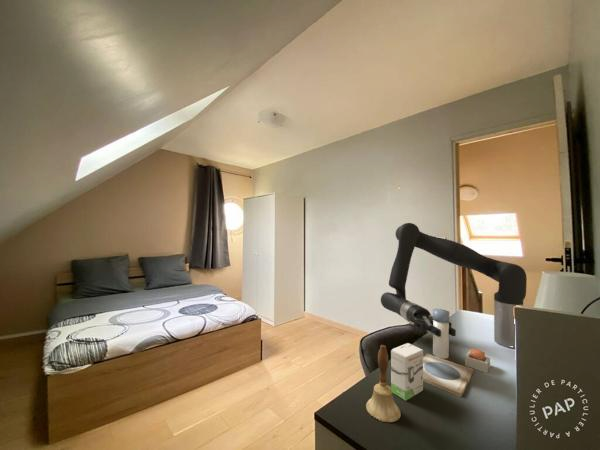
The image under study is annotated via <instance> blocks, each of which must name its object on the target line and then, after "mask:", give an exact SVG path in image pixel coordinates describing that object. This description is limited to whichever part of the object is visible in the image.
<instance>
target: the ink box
mask: <svg viewBox="0 0 600 450" xmlns="http://www.w3.org/2000/svg"><path fill="white" fill-rule="evenodd" d="M423 357H424V350H423V349H422V348H419V347H418V346H416V345H413V344H411V343H409V342H407V343H404V344H402V345H399V346H397V347H394V348H392V349H391V350H390V362H391V363H390V365H391V367H390V377H391V378H390V388H391V389H392V394H394V395H396V396H398V397H399V398H401V399H402V400H404V401H406V402H407V401H408V400H410V399H412V398H413V397H415V396H416V395H418V394H419V393H421V392H422V391H424V381H423Z"/></svg>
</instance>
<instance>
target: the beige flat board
mask: <svg viewBox="0 0 600 450" xmlns="http://www.w3.org/2000/svg"><path fill="white" fill-rule="evenodd" d="M473 374H474V368H471V367H468V366H465V365H461V364H459V363H455V362H453V361H449V360H447V359H445V358H439V357H437V356H435V355H434V354H433V355H432V354H429V353H426V354H425V355H423V383H427V384H428V385H431V386H434V387H435V388H438V389H441V390H443V391H445V392H448V393H451V394H452V395H455V396H457V397H460V398H462V396H463V395H464V392H465V390H466V389H467V386H468V384H469V383H470V381H471V378H472V376H473Z"/></svg>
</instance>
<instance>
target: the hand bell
mask: <svg viewBox="0 0 600 450" xmlns="http://www.w3.org/2000/svg"><path fill="white" fill-rule="evenodd" d="M379 347H380V348H379V350H378V353H377V363H378V367H379V368H378V369H379V382H378V383H376V384H375V385H373V392H372V396H371V398H369V399H368V400H367V402H366V404H365V408H366V411H367V412H368V414H369V415H370V416H371V417H372V416H373V418H374V419H375V418H376V419H375V420H377V419H378V421H379V422H383V423H394V422H396V421H399V419H400V418H401V416H402V415H401V413H402V412H401V409H400V407H399V406H398V405H397V403H396V402H395V399H394V396H393V394H394V393H393V392H392V389H391V386H390V385H387V370H388V367H389V353H388V350H387V346H386V345H384V344H381V345H380V346H379Z"/></svg>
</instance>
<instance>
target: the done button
mask: <svg viewBox="0 0 600 450" xmlns="http://www.w3.org/2000/svg"><path fill="white" fill-rule="evenodd" d="M469 351H470V355H471V357H472V358H474V359H477V360H485V356H486V353H485V351H483V350H481V349H477V348H471V349H470V350H469Z"/></svg>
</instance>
